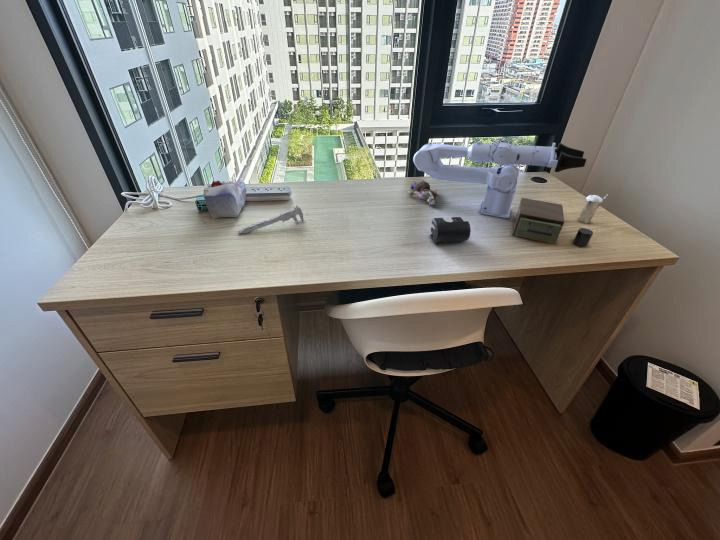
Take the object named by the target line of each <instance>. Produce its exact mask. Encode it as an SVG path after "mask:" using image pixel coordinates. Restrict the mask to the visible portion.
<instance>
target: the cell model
mask: <svg viewBox="0 0 720 540" xmlns="http://www.w3.org/2000/svg"><path fill="white" fill-rule="evenodd" d="M203 198H204V201H205V202H204V203H205V206H206V209H207V210H208V212H209V214H210V215H211V217H212V218H214V219H219V218H225V217H226V218H227V217H229V218H233V217H234V218H235V217H238V216H239V215H240V213H241V210H242V209H243V207H244V206H245V204H246V199H247V189H246V182H245V181H240V180H236V181H225V180H222V181H221V180H215V181H214V180H213V181H212V183H211V184H209V185H207V187H205V188H204V189H203Z"/></svg>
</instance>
